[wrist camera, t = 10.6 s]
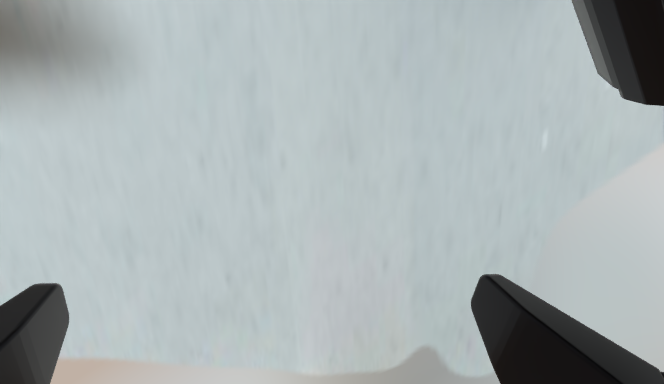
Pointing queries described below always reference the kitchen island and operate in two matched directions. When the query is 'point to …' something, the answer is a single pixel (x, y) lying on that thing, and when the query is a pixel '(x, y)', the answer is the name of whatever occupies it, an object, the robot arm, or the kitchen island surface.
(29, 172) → the kitchen island surface
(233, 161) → the kitchen island surface
